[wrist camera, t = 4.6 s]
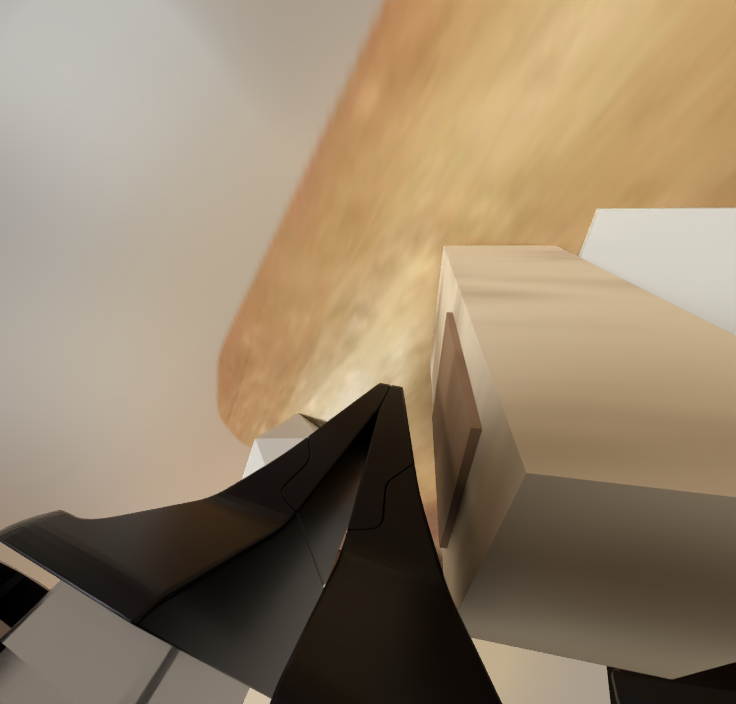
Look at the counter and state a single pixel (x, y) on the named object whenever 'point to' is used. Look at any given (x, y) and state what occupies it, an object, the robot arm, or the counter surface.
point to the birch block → (584, 462)
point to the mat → (671, 256)
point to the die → (278, 442)
